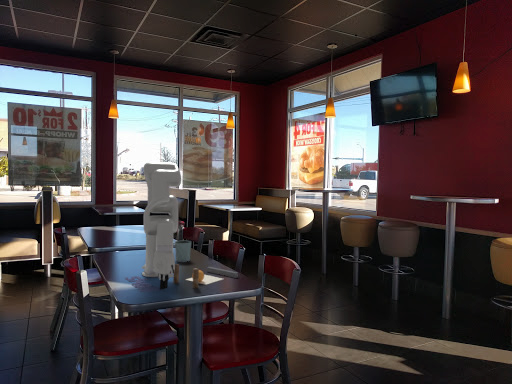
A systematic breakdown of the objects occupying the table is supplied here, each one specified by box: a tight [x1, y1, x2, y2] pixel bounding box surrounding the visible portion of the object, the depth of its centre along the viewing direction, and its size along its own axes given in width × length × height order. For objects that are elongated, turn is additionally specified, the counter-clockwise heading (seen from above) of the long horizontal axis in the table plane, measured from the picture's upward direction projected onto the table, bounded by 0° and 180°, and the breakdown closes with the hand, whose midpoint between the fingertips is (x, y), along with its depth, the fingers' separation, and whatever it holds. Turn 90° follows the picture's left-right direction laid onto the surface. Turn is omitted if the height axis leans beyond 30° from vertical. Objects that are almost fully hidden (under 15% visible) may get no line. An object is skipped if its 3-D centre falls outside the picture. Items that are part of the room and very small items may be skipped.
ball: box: [191, 269, 205, 282], centre depth 194 cm, size 6×6×6 cm
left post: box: [173, 263, 180, 285], centre depth 191 cm, size 3×3×9 cm
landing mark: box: [185, 274, 224, 285], centre depth 200 cm, size 14×14×1 cm
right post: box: [192, 268, 200, 289], centre depth 184 cm, size 3×3×9 cm
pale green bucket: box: [174, 240, 192, 263], centre depth 243 cm, size 10×10×12 cm
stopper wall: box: [206, 266, 239, 279], centre depth 211 cm, size 20×2×2 cm, turn 56°
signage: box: [124, 276, 163, 293], centre depth 189 cm, size 28×1×10 cm
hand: (163, 288), depth 176 cm, fingers closed
